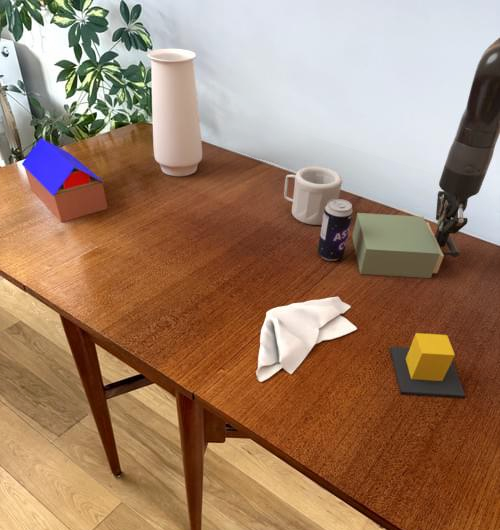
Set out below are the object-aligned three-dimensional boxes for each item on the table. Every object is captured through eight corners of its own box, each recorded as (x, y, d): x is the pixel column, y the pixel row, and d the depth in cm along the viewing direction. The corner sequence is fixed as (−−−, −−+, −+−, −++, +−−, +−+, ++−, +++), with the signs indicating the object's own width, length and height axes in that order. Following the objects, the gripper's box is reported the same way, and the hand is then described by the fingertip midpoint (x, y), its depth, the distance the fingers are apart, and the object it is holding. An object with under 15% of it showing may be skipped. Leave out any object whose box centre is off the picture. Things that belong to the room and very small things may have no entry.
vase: (206, 177, 126) (203, 60, 107) (157, 180, 123) (146, 61, 104) (198, 158, 135) (195, 47, 116) (153, 160, 132) (142, 47, 113)
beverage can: (329, 265, 97) (339, 214, 89) (311, 253, 101) (319, 202, 92) (348, 257, 100) (360, 206, 92) (330, 245, 103) (340, 195, 95)
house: (60, 223, 105) (47, 173, 97) (29, 189, 116) (15, 142, 109) (109, 208, 111) (100, 161, 103) (75, 178, 122) (65, 133, 114)
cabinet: (415, 240, 106) (423, 216, 102) (430, 278, 96) (440, 253, 91) (352, 236, 106) (357, 212, 102) (360, 274, 96) (366, 248, 91)
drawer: (442, 240, 105) (448, 223, 102) (459, 274, 95) (466, 257, 92) (363, 235, 105) (367, 218, 102) (371, 269, 95) (376, 251, 92)
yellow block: (435, 360, 77) (447, 334, 73) (442, 381, 74) (455, 355, 70) (405, 359, 77) (415, 332, 73) (411, 379, 74) (422, 353, 70)
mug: (341, 211, 115) (348, 172, 108) (326, 230, 108) (333, 190, 101) (291, 197, 119) (295, 159, 112) (273, 215, 112) (277, 175, 105)
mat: (447, 352, 80) (448, 350, 79) (464, 398, 72) (465, 395, 72) (389, 349, 80) (390, 346, 79) (400, 394, 72) (401, 391, 72)
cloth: (319, 285, 92) (320, 276, 91) (373, 322, 85) (376, 312, 83) (214, 341, 79) (214, 331, 78) (267, 390, 72) (268, 380, 70)
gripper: (499, 181, 82) (465, 263, 94) (475, 152, 91) (448, 229, 103) (456, 179, 82) (428, 261, 94) (437, 150, 91) (414, 228, 103)
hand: (438, 244), depth 98 cm, fingers closed
